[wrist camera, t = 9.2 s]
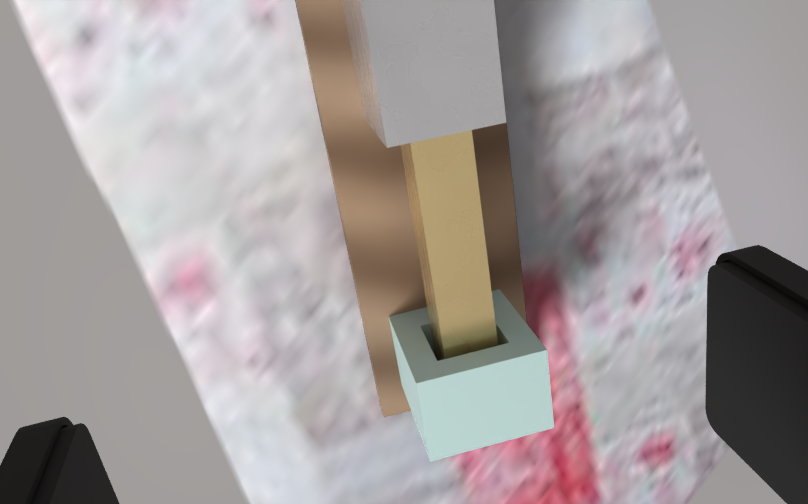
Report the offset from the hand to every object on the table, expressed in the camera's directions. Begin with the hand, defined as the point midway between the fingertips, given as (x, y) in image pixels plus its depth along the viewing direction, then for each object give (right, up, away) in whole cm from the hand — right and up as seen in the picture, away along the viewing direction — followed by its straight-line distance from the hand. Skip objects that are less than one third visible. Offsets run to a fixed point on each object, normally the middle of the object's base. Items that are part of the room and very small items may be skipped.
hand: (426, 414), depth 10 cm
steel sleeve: (-1, +16, +25) cm, 30 cm away
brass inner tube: (+1, +5, +27) cm, 28 cm away
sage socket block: (+3, -3, +34) cm, 34 cm away
